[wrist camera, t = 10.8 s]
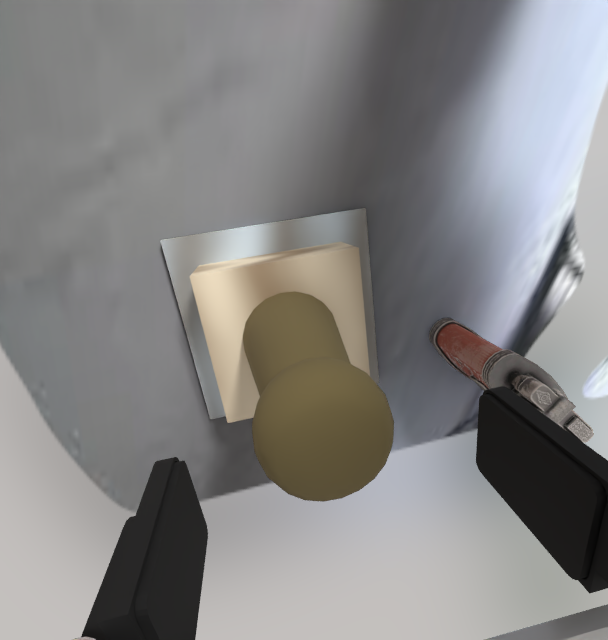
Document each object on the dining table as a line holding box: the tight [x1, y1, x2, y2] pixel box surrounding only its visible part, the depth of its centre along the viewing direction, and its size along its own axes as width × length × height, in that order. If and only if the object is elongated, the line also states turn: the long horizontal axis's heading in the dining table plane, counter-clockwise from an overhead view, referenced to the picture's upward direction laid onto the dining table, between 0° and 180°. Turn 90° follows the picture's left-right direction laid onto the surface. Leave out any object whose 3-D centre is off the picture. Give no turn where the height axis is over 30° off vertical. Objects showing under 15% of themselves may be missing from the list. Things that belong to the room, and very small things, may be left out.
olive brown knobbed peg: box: [243, 291, 394, 501], centre depth 16 cm, size 6×6×11 cm
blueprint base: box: [160, 208, 379, 423], centre depth 23 cm, size 14×14×5 cm
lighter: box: [429, 318, 594, 442], centre depth 25 cm, size 8×3×10 cm, turn 51°
